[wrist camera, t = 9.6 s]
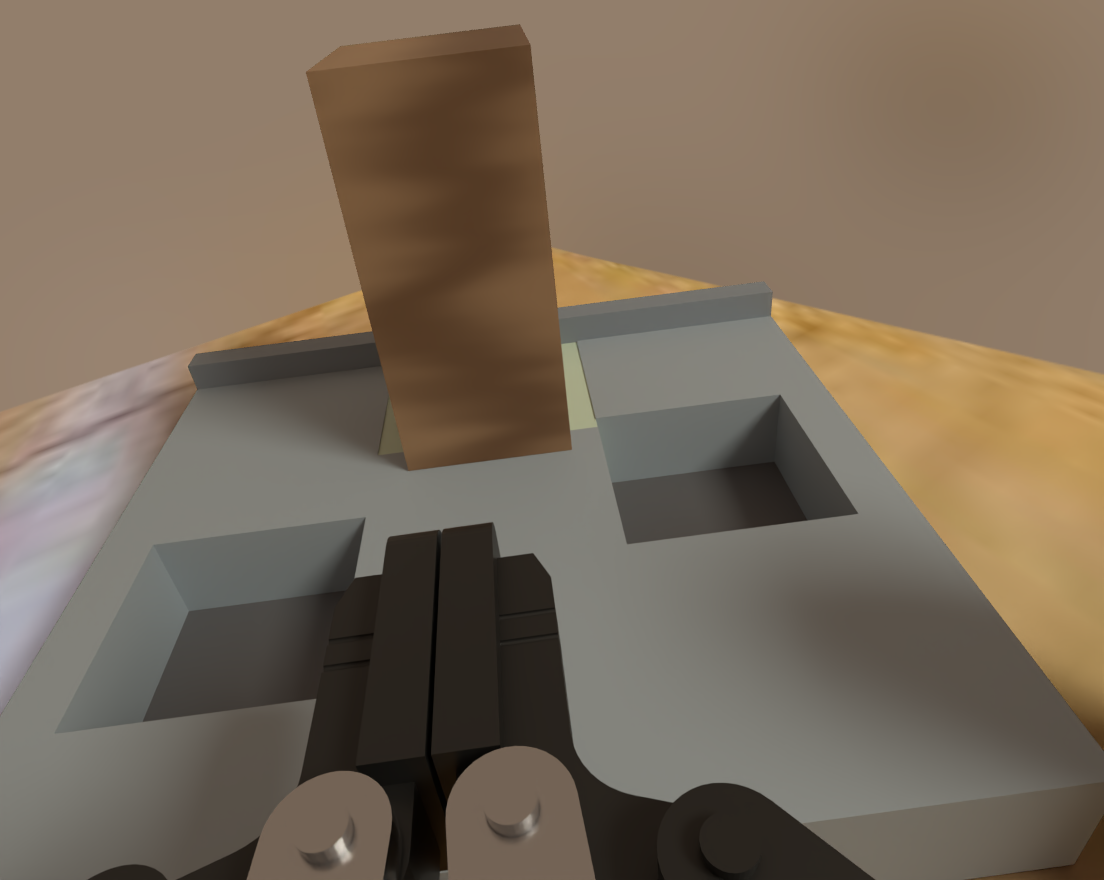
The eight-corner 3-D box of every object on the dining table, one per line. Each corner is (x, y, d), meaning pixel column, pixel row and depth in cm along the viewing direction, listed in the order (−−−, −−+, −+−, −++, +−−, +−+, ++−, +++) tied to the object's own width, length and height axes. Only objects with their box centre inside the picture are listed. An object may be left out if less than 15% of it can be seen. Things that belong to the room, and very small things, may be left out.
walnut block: (408, 471, 23) (306, 71, 17) (419, 389, 27) (340, 46, 21) (572, 449, 23) (530, 44, 17) (557, 371, 27) (519, 24, 21)
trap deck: (-47, 1020, 14) (-182, 927, 12) (231, 439, 31) (196, 353, 29) (1074, 864, 15) (1145, 745, 12) (758, 371, 31) (764, 281, 29)
